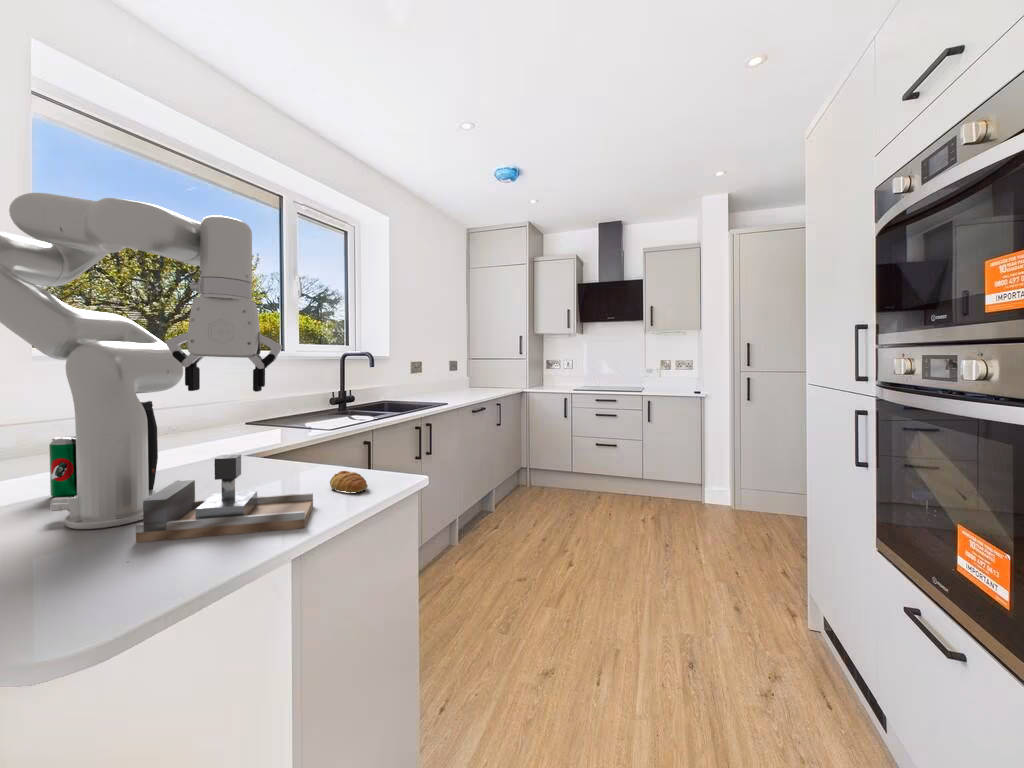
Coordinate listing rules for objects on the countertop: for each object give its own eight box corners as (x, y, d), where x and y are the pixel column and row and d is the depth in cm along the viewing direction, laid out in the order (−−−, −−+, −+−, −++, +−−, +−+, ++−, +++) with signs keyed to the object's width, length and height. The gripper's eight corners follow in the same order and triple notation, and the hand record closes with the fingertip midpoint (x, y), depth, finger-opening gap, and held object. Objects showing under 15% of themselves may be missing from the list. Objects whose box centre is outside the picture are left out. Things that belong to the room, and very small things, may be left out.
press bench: (136, 542, 69) (135, 501, 68) (169, 516, 80) (168, 481, 80) (304, 527, 76) (304, 490, 76) (313, 506, 87) (313, 474, 87)
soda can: (88, 494, 92) (87, 437, 92) (54, 500, 88) (53, 440, 87) (81, 490, 95) (79, 435, 94) (47, 496, 90) (46, 438, 90)
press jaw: (195, 523, 72) (194, 463, 72) (214, 506, 81) (214, 452, 80) (243, 519, 74) (243, 461, 74) (257, 503, 83) (257, 450, 83)
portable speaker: (167, 488, 98) (166, 400, 97) (123, 500, 88) (122, 404, 88) (135, 485, 99) (134, 399, 98) (88, 497, 90) (87, 402, 89)
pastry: (375, 491, 99) (375, 474, 99) (347, 498, 94) (347, 480, 94) (353, 483, 105) (353, 467, 105) (326, 489, 100) (325, 473, 100)
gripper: (156, 284, 70) (157, 391, 70) (277, 293, 75) (277, 392, 76) (176, 291, 77) (176, 388, 78) (285, 298, 82) (285, 390, 83)
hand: (226, 390), depth 77 cm, fingers open, 9 cm apart
